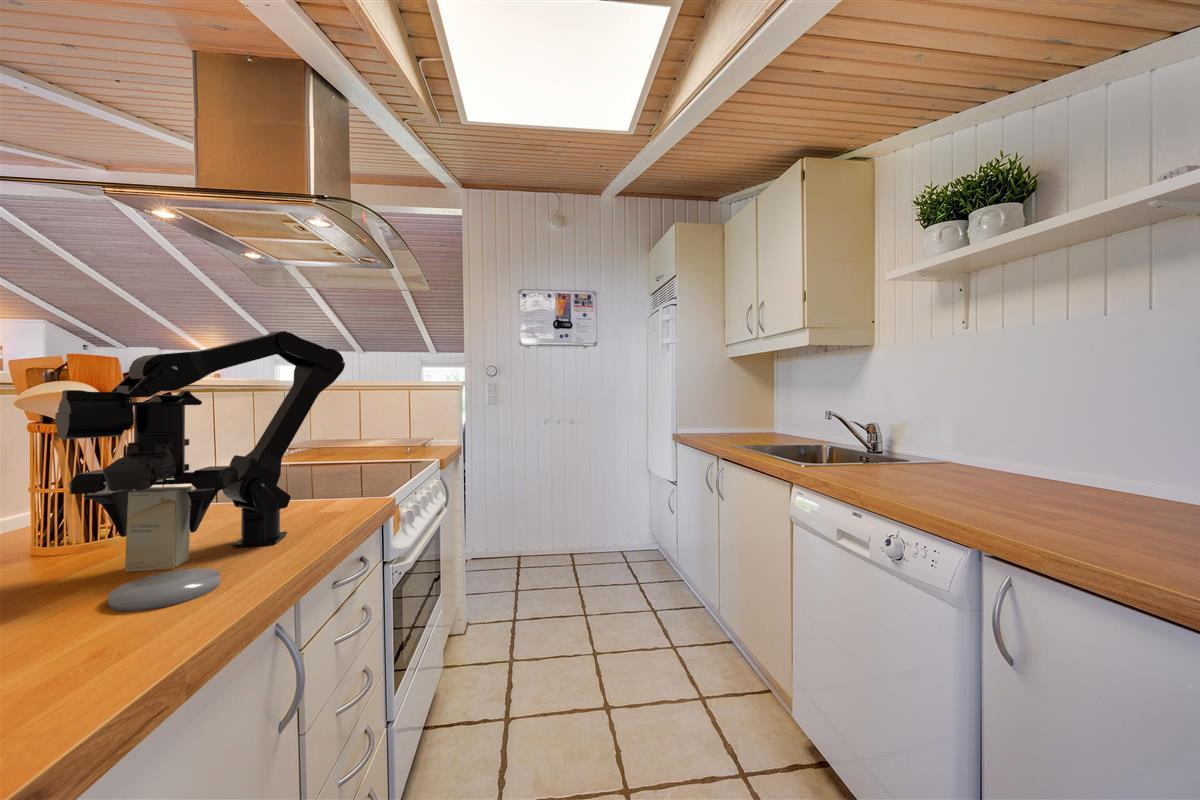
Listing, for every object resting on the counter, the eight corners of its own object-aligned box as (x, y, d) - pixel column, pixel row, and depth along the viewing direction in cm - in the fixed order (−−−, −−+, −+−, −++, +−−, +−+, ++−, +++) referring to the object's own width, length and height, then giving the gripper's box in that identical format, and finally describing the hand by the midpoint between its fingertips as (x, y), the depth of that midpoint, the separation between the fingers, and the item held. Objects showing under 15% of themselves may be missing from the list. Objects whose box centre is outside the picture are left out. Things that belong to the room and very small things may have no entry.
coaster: (143, 581, 66) (143, 572, 66) (234, 573, 69) (234, 565, 69) (83, 616, 55) (83, 606, 55) (194, 605, 58) (194, 595, 58)
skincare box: (123, 573, 68) (124, 492, 68) (144, 562, 73) (144, 486, 72) (174, 569, 70) (175, 490, 70) (191, 559, 74) (192, 485, 74)
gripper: (35, 440, 61) (35, 557, 61) (204, 438, 66) (204, 545, 66) (98, 433, 71) (98, 532, 71) (240, 432, 77) (239, 524, 77)
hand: (159, 533), depth 71 cm, fingers open, 8 cm apart
